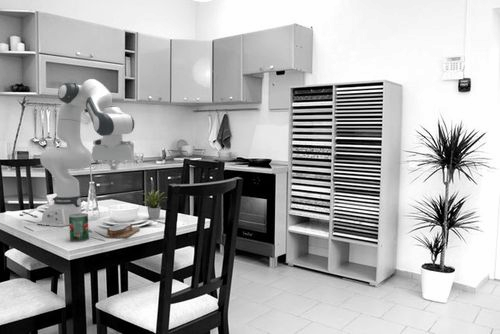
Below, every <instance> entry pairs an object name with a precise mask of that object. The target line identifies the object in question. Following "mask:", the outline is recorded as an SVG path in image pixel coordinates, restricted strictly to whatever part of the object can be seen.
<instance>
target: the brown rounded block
mask: <svg viewBox="0 0 500 334" xmlns="http://www.w3.org/2000/svg"><path fill="white" fill-rule="evenodd" d="M132 228H133V225H132V223H124V222H121V223H120V222H119V223H116V224H114V225H112V226H110V227H108V228H107V230H106V236H119V235H124V234H126V233H127V232H129V231H131V230H132Z"/></svg>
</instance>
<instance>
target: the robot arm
mask: <svg viewBox="0 0 500 334" xmlns="http://www.w3.org/2000/svg"><path fill="white" fill-rule="evenodd" d="M57 96H58V99H59V100H60V101H61V102H62V103H61V104H60V108H59V111H58V117H57V126H56V135H57V138H58V139H59V140H61V141H62V142H64V143H66V147H51V148H47V149H44V150H43V151H42V152H41V154H40V156H39V161H40V164H41V166H42V167H43V168H44V169H46V170H48V171H49V173H50V174H51V176H52V177H53V179H54V182H55V189H56V191H55V192H56V196H54V197H52V198H51V201H53V203H52V205H50V206H49V207H48V208H46V209H45V210H44V211H43V213H42V218H41V220H39V221H38V222H37V224H42V225H41V226H46V225H49V227H59V228H60V227H67V226H69V215H72V214H78V213H82V207H81V205H82V200H81V199H82V198H81V197H82V196H81V193H80V181H79V180H78V178H76V177H75V176H73V175H71V174H70V172H69V170H82V169H87V168H89V167H90V166H91V165H92V163H93V161H107V164H108V166H109V168H110V169H109V170H111V171H117V170H118V166H119V164H120V161H128V162H129V161H134V159H135V150H134V149H135V145H134V143H133V142H132V141H130V140H127V141H126V140H123V135H129V134H131V133H132V132H133V131H134V129H135V120H134V118H133V117H132V115H130V114H127V113H125V112H123V111H122V110H121V107H118V106H112V102H113V96H112V93H111V92H110V90H109V89H108V88H107V87H106V86H105V85H103V84H102V82H100V81H98V80H97V79H95V78H89V79H87V80H85V81H84V82H83V83H82V84H81V85H80V84H77V83H76V82H64V83H62V84H61V85H60V86H59V88H58V92H57ZM82 112H85V113H88V115H89V117H90V119H91V122H92V125H93V129H94V131H95V132H96V134H98V135H99V136H100V137H101V138H99V139H95V140H93V142H92V145H94V146H93V147H92V149H91V150H92V151H90V150H89V149H88V148H86V146H85V145H84V143H83V142H82V138H81V123H82V121H81V118H82ZM113 161H114V163H115V165H113Z"/></svg>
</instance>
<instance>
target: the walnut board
mask: <svg viewBox="0 0 500 334" xmlns="http://www.w3.org/2000/svg"><path fill="white" fill-rule="evenodd" d="M140 229H141V228H135V227H134V228H133V227H132V230H131V231H129V232H127V233H126V234H124V235H119V236H109V235H107V239H123V240H124V239H125V240H126V239H129V238H131V236H133V235H136V234H137V233H138V232H140Z"/></svg>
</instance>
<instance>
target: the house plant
mask: <svg viewBox="0 0 500 334" xmlns="http://www.w3.org/2000/svg"><path fill="white" fill-rule="evenodd" d="M154 191H155V190H154V188H153V189H152V194H151V192H148V194H149V195H148V194H147V190H146V191H145V192H143V193H142V192H141V194H143V195H144V196H145V197H146V199H145V201H143V202H142V203H143V205H145V204H148V205H149V206H147V207H146V209H147V214H148V218H150V219H149V220H158V219H160V215H161V214H160V213H161V206H159V204H160V203H161V201H162V200H163V199H166V198H168V197H167V196H163V197H161V196H162V194H165V192H162V194H158V193H159V191H160V190H156V191H155V192H154Z"/></svg>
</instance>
